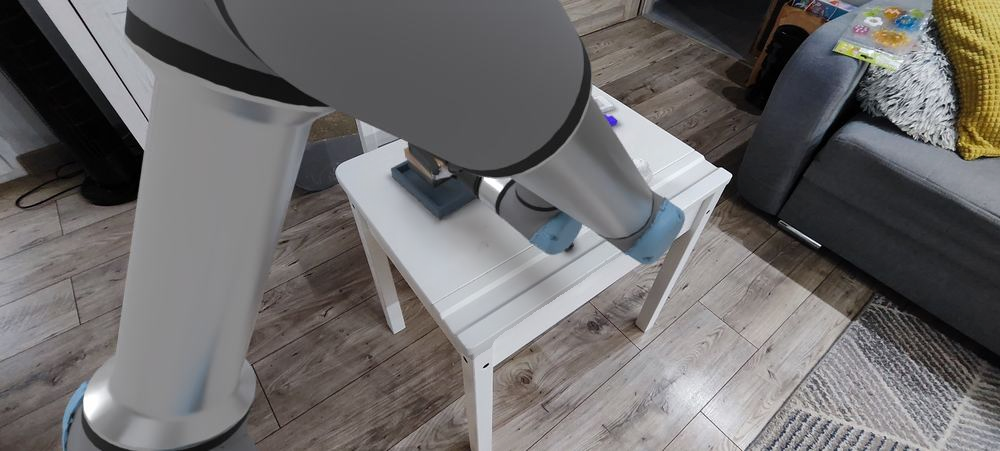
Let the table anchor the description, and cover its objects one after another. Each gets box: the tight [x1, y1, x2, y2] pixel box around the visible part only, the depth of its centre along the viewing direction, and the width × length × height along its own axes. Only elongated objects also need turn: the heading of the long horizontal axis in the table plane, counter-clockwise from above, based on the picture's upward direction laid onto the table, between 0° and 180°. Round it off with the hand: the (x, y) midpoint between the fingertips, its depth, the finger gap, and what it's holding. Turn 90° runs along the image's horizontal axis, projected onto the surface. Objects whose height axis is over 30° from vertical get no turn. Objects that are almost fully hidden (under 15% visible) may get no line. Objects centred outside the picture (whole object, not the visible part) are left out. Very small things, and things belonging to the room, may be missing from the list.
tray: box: [390, 159, 477, 220], centre depth 93 cm, size 25×16×2 cm, turn 132°
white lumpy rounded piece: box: [631, 157, 654, 186], centre depth 88 cm, size 6×6×7 cm
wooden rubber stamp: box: [403, 146, 451, 189], centre depth 82 cm, size 8×5×14 cm, turn 42°
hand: (407, 114), depth 82 cm, fingers closed on wooden rubber stamp, 3 cm apart
